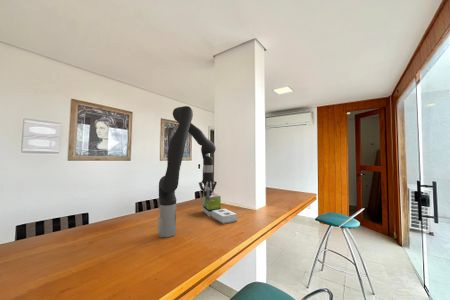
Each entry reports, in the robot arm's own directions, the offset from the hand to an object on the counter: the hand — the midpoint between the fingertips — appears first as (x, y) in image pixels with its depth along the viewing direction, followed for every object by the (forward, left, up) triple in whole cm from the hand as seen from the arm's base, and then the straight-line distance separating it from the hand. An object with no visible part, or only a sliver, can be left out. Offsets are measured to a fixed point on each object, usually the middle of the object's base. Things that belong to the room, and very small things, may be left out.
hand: (207, 196), depth 130 cm
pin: (0, 0, -2) cm, 2 cm away
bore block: (+11, -4, -17) cm, 21 cm away
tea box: (+10, +14, -17) cm, 24 cm away
